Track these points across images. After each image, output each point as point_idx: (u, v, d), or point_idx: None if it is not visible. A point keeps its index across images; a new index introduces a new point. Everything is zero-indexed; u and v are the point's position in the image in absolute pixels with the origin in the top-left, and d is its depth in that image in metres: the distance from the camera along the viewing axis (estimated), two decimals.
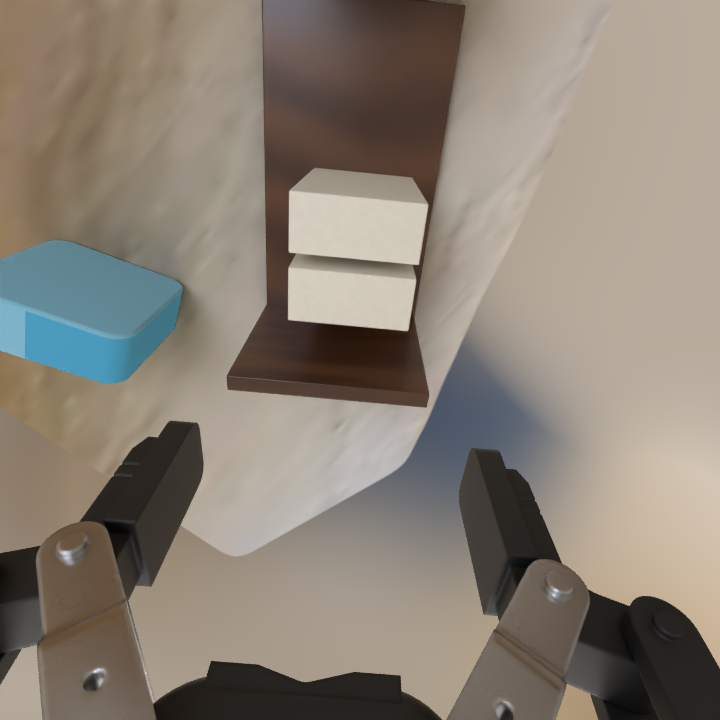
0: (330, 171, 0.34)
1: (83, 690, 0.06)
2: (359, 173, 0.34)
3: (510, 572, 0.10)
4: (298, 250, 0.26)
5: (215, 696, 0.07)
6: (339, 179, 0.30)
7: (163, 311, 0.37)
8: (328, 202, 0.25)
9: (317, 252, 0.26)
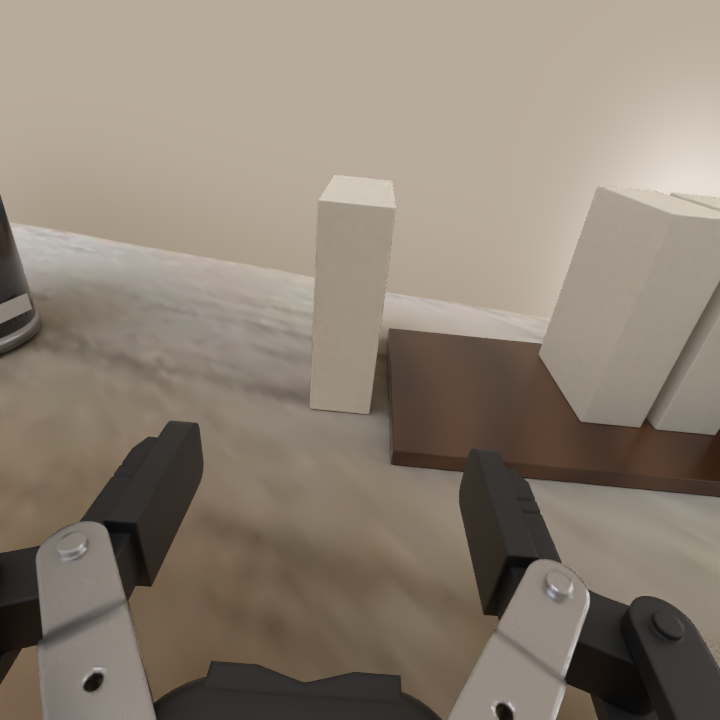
0: (579, 387, 0.26)
1: (84, 690, 0.06)
2: (562, 374, 0.28)
3: (510, 572, 0.10)
4: None
5: (215, 696, 0.07)
6: (597, 320, 0.25)
7: None
8: (655, 204, 0.21)
9: None
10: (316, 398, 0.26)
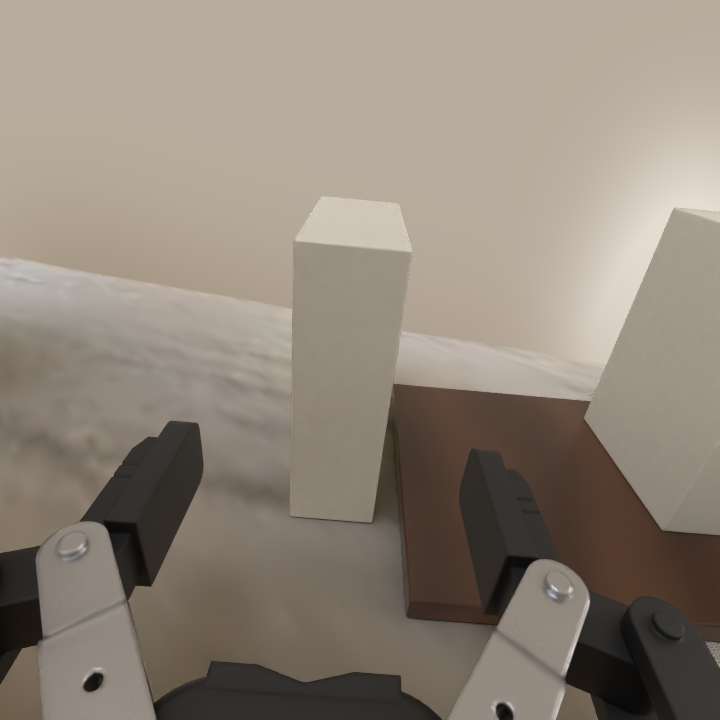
0: (656, 481, 0.19)
1: (84, 689, 0.06)
2: (626, 455, 0.21)
3: (510, 572, 0.10)
4: None
5: (215, 696, 0.07)
6: (684, 393, 0.18)
7: None
8: None
9: None
10: (298, 504, 0.18)
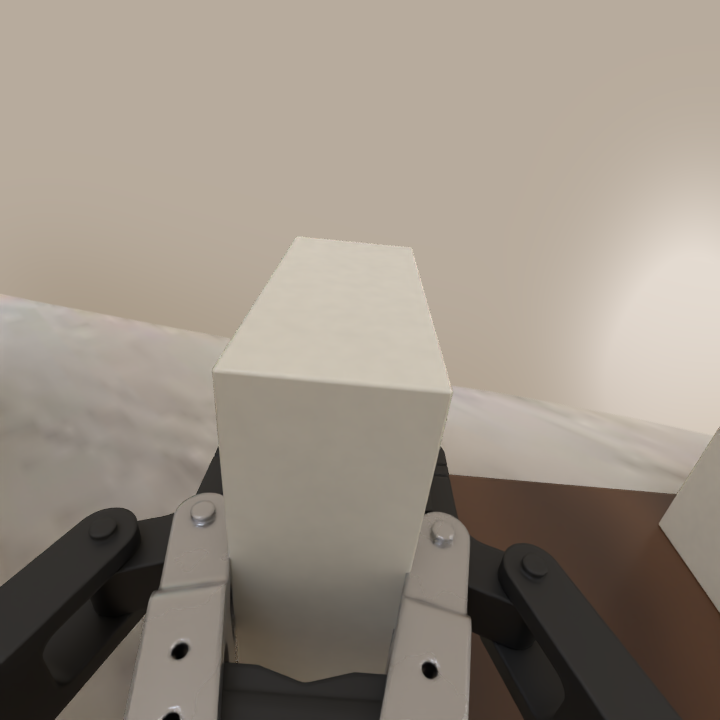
0: None
1: (171, 653, 0.07)
2: None
3: None
4: None
5: None
6: None
7: None
8: None
9: None
10: None
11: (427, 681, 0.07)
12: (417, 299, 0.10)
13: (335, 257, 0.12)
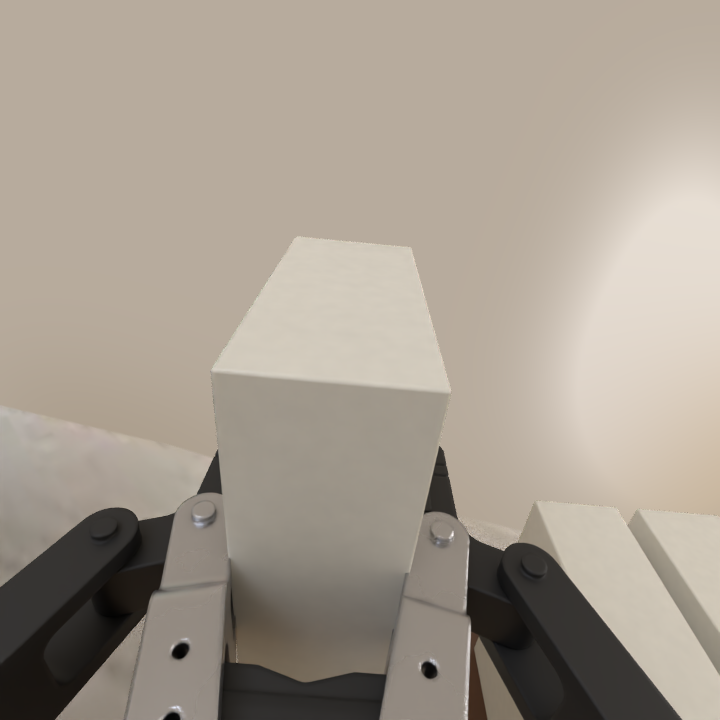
0: None
1: (172, 654, 0.07)
2: None
3: None
4: None
5: None
6: None
7: None
8: None
9: (708, 664, 0.13)
10: None
11: (427, 681, 0.07)
12: (416, 299, 0.10)
13: (334, 257, 0.12)
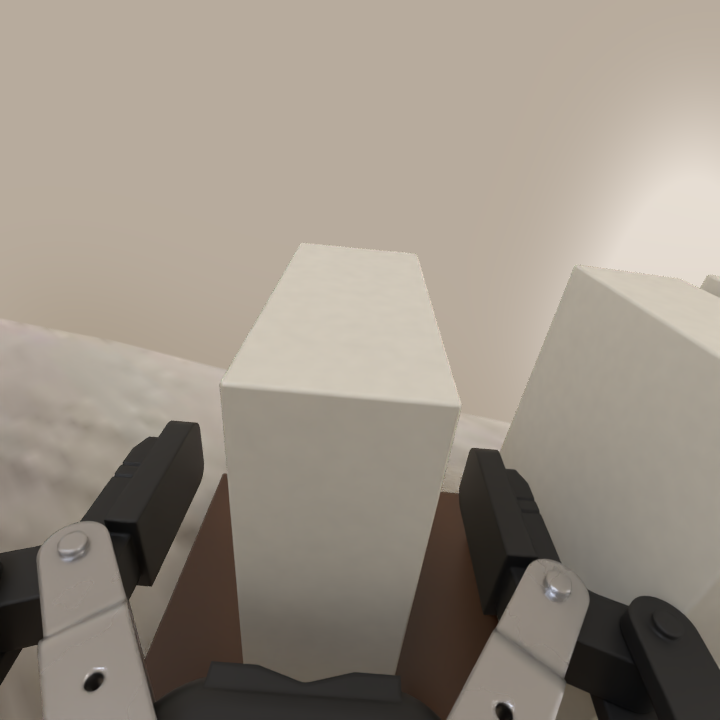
0: None
1: (84, 689, 0.06)
2: None
3: (510, 572, 0.10)
4: None
5: (215, 696, 0.07)
6: (581, 565, 0.11)
7: None
8: None
9: None
10: None
11: None
12: (424, 308, 0.09)
13: (340, 264, 0.12)
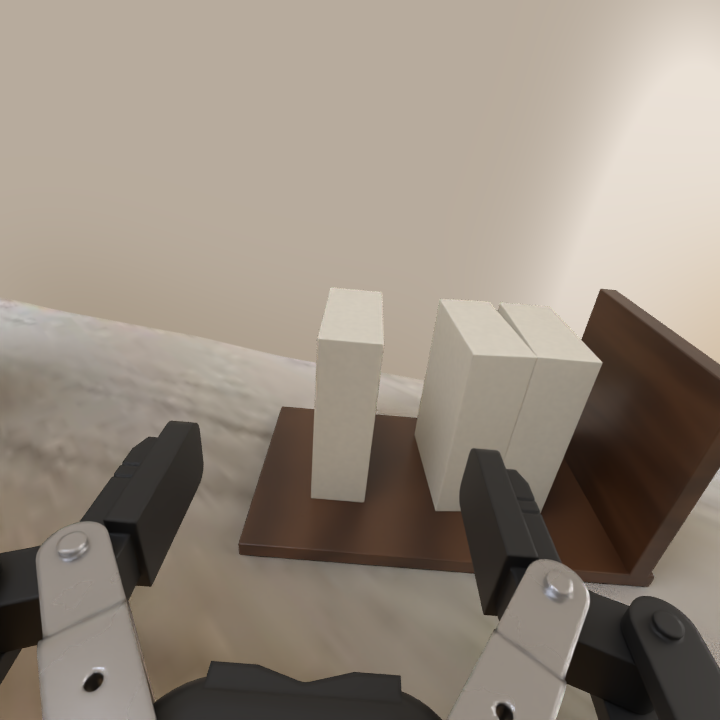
0: (434, 479, 0.30)
1: (83, 690, 0.06)
2: (426, 462, 0.32)
3: (510, 572, 0.10)
4: (529, 351, 0.24)
5: (215, 696, 0.07)
6: (441, 422, 0.28)
7: None
8: (468, 335, 0.25)
9: (521, 341, 0.25)
10: (317, 490, 0.29)
11: None
12: (379, 316, 0.26)
13: (348, 298, 0.29)
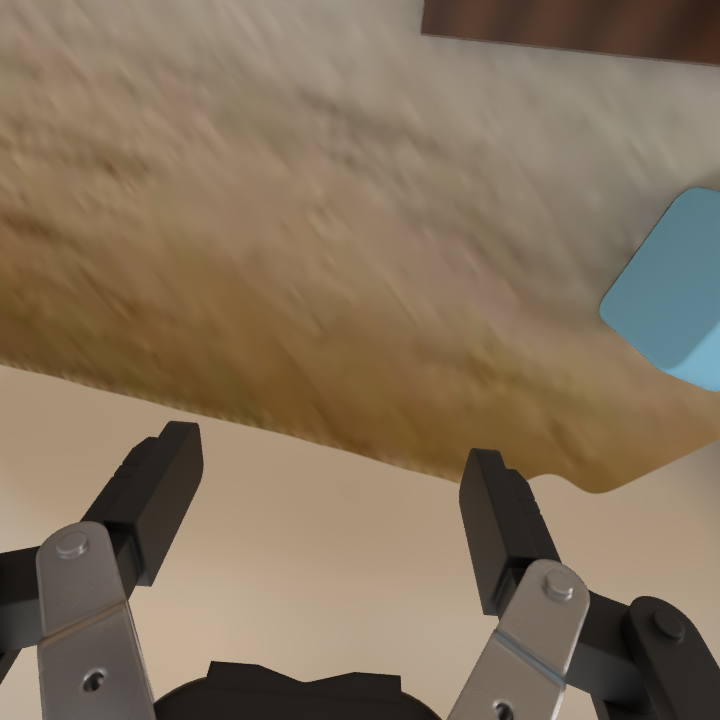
0: None
1: (84, 689, 0.06)
2: None
3: (510, 572, 0.10)
4: None
5: (215, 696, 0.07)
6: None
7: None
8: None
9: None
10: None
11: None
12: None
13: None
